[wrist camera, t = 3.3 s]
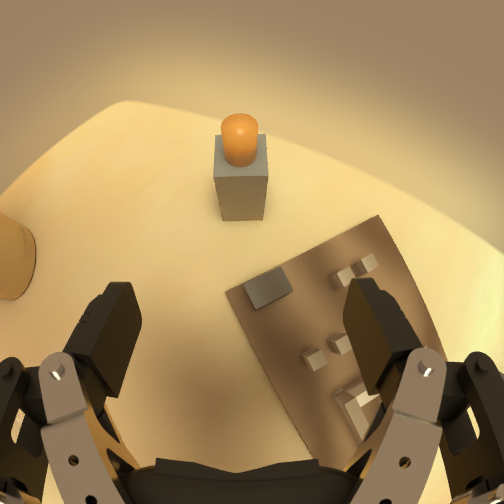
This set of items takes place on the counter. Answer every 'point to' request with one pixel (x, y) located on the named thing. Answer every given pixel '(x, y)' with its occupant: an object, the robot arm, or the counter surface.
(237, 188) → the connector plug
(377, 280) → the board
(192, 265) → the counter surface
